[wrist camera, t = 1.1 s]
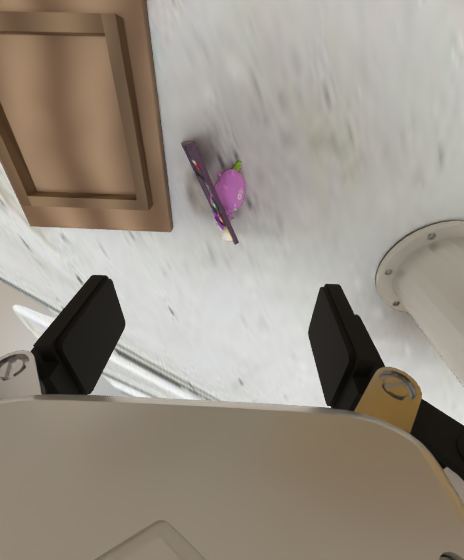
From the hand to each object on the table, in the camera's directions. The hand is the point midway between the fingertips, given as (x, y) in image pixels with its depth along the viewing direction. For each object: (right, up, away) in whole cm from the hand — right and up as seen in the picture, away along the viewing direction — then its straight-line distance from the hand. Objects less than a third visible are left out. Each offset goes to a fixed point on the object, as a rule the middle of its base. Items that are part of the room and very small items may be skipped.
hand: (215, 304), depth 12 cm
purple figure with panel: (0, +12, +15) cm, 19 cm away
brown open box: (-14, +16, +12) cm, 24 cm away
